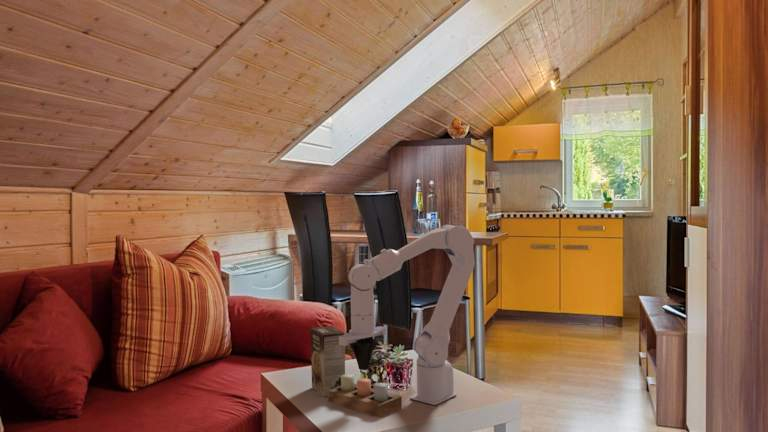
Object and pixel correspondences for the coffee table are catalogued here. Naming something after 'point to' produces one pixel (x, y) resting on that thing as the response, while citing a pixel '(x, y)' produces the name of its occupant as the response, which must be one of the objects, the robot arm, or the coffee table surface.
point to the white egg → (381, 392)
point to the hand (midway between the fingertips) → (363, 369)
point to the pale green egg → (347, 383)
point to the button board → (365, 402)
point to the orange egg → (363, 387)
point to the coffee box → (326, 359)
